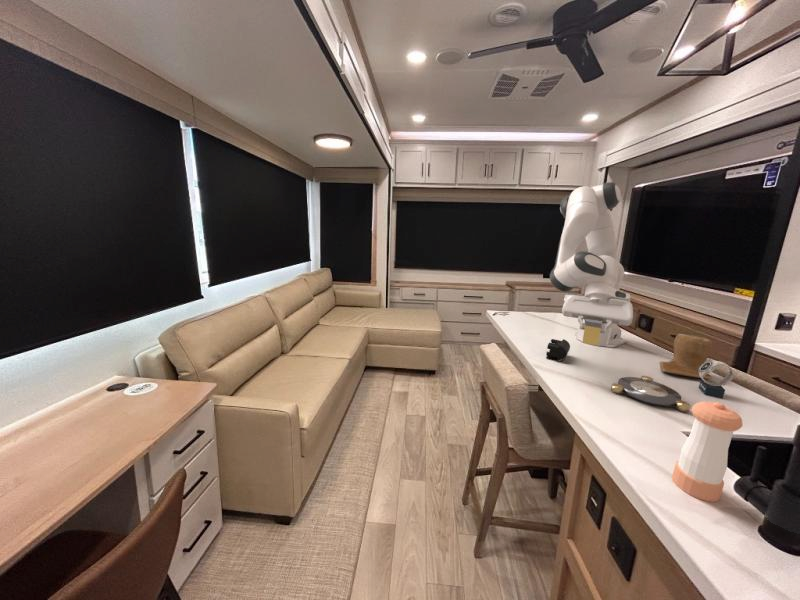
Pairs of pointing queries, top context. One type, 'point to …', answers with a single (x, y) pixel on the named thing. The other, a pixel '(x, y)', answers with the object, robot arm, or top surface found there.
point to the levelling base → (650, 392)
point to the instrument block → (592, 331)
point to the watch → (713, 387)
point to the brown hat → (688, 356)
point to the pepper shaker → (706, 451)
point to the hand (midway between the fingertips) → (592, 330)
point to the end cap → (557, 350)
